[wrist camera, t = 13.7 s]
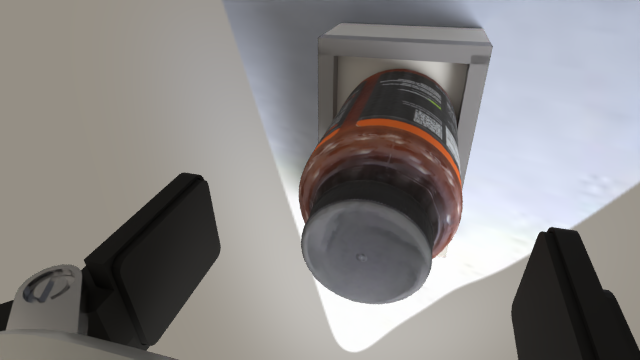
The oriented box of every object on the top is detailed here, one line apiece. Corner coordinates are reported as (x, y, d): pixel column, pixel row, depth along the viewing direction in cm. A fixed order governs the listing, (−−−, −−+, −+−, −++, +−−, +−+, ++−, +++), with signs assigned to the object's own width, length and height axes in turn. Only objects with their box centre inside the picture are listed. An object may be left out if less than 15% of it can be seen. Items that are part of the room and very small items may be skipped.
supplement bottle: (343, 163, 23) (272, 307, 14) (345, 62, 20) (256, 157, 11) (447, 175, 22) (448, 345, 12) (466, 68, 19) (486, 184, 9)
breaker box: (340, 22, 23) (304, 46, 17) (483, 28, 21) (498, 57, 15) (336, 204, 30) (309, 268, 24) (445, 221, 28) (445, 294, 22)
